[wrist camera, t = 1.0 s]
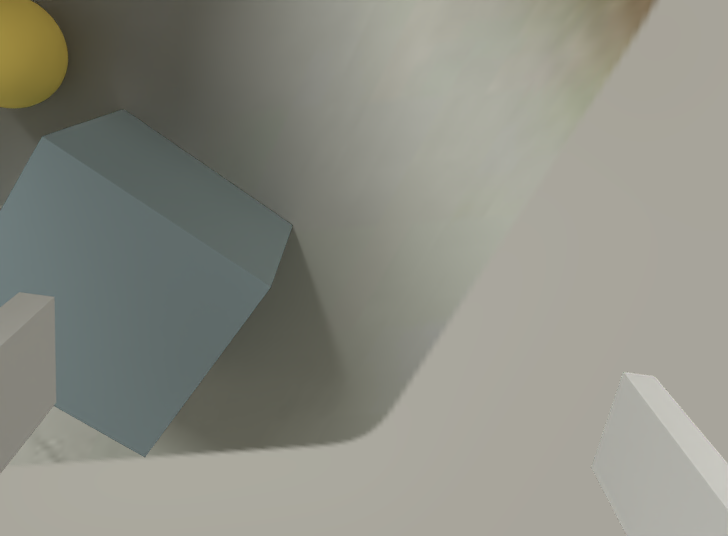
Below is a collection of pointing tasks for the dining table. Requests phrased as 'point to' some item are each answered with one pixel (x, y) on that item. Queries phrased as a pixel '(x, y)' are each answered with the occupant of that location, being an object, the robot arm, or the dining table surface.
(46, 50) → the ball
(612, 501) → the robot arm
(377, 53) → the dining table surface
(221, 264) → the grey-blue flat-faced block
